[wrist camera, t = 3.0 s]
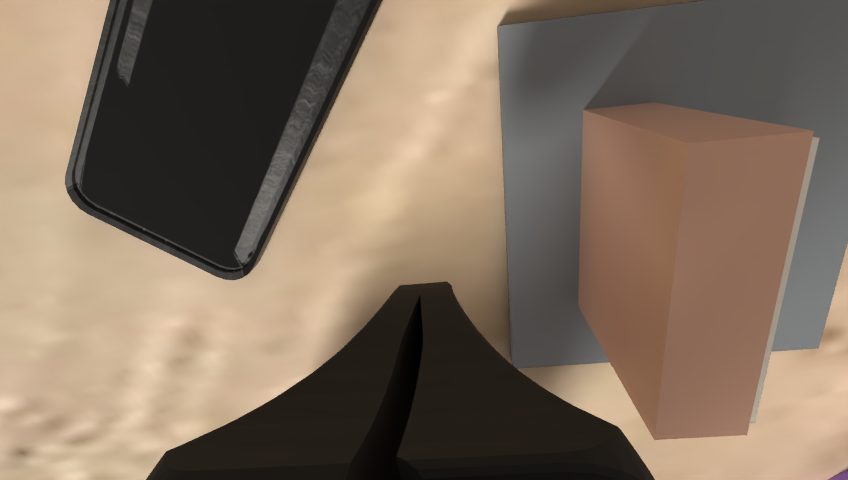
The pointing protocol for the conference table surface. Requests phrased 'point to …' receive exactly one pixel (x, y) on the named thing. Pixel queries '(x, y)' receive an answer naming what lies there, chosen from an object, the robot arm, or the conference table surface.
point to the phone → (209, 119)
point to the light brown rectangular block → (689, 256)
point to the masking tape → (841, 476)
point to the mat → (677, 86)
